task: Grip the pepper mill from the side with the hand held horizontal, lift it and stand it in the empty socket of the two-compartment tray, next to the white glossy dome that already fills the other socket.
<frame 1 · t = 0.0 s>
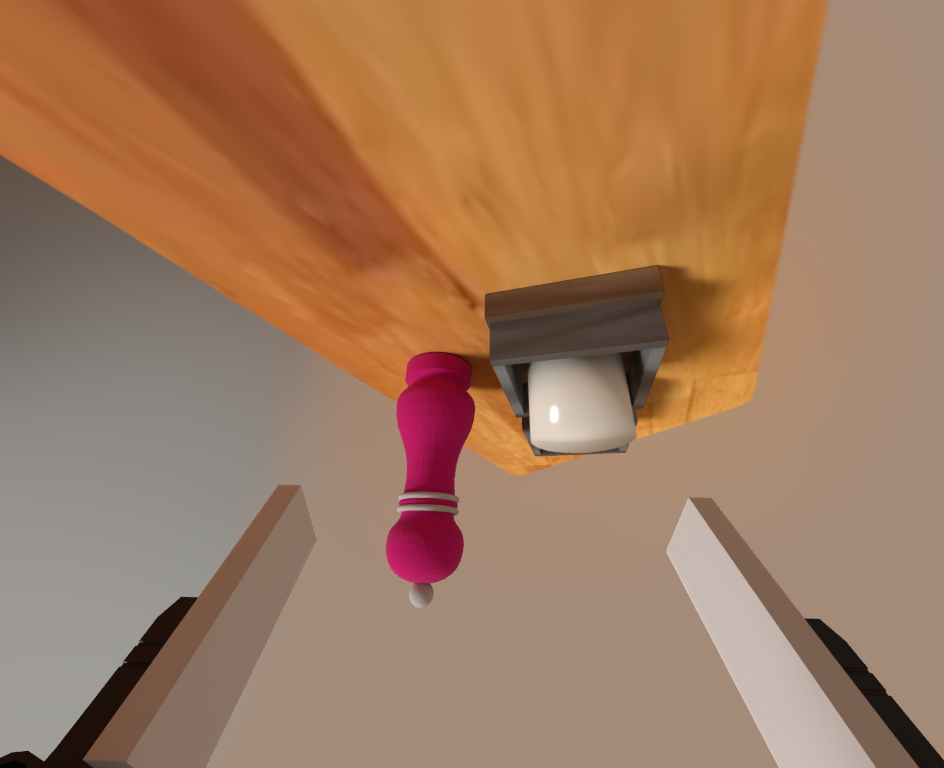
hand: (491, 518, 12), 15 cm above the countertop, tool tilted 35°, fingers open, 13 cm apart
two-compartment tray: (572, 371, 34), on the countertop
white glossy dome: (571, 353, 27), point 2 cm above the countertop, touching two-compartment tray
pepper mill: (439, 366, 35), on the countertop
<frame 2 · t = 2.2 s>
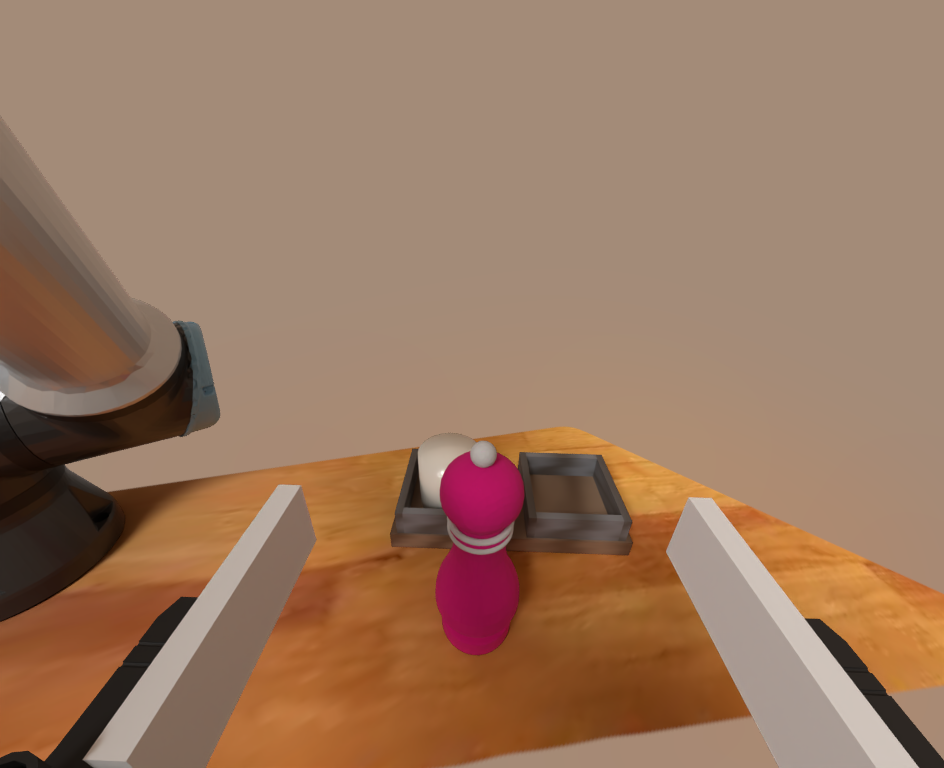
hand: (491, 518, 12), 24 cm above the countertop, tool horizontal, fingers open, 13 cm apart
two-compartment tray: (506, 511, 43), on the countertop
white glossy dome: (450, 497, 42), point 2 cm above the countertop, touching two-compartment tray
pepper mill: (475, 618, 32), on the countertop
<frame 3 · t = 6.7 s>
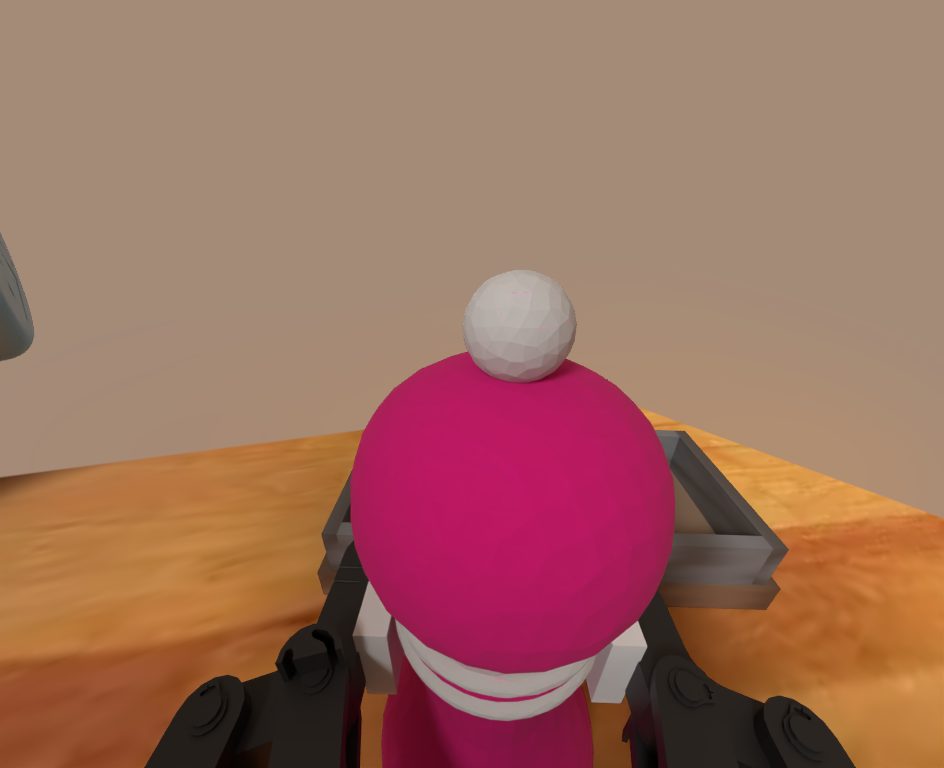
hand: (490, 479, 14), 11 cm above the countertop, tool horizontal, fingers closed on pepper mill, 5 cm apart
two-compartment tray: (531, 525, 25), on the countertop
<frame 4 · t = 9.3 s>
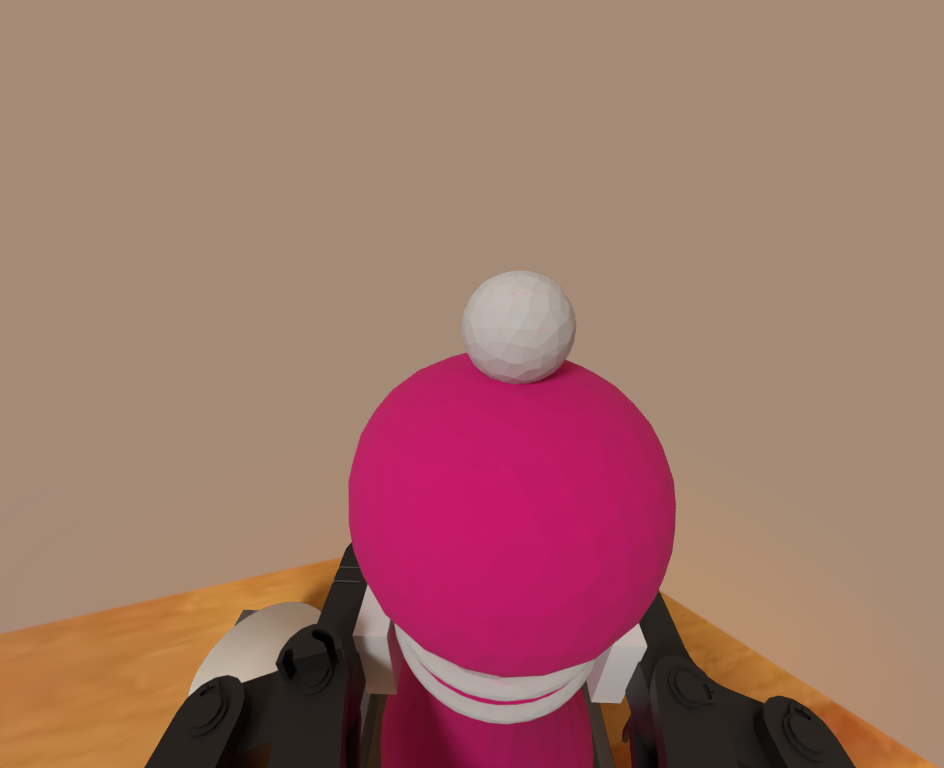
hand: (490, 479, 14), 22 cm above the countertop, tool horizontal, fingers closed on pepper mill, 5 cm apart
two-compartment tray: (402, 738, 23), on the countertop
white glossy dome: (291, 723, 22), point 2 cm above the countertop, touching two-compartment tray
when the fingers open (14 cm above the countertop, at t = 11.8 s): pepper mill drops 1 cm, resting on two-compartment tray.
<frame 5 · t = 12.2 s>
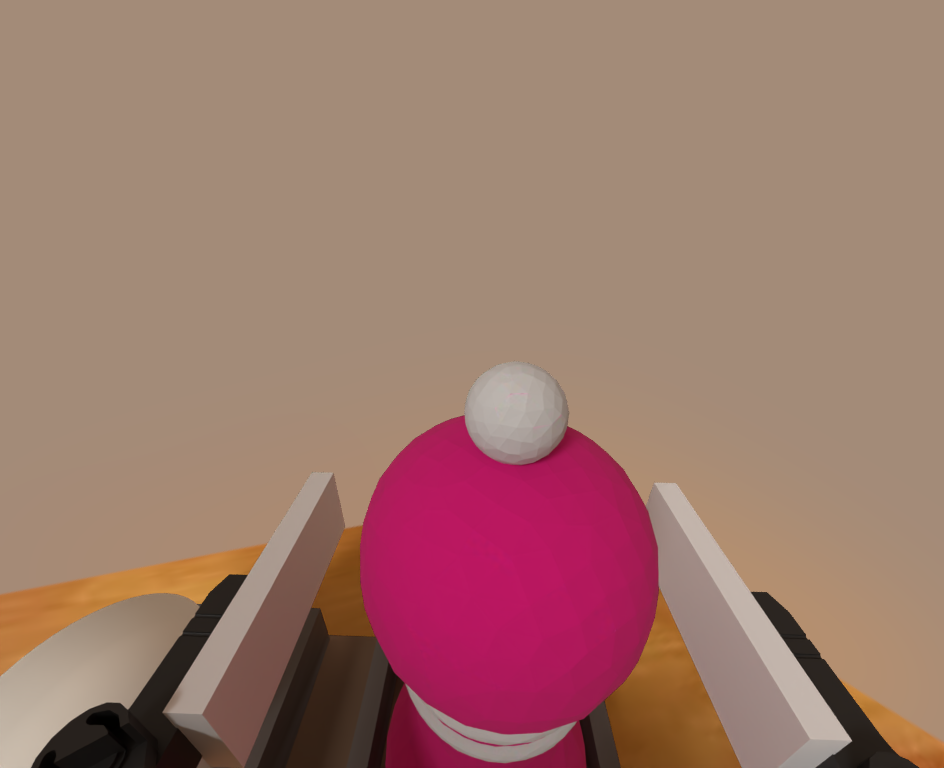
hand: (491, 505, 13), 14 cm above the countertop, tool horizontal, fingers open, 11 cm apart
white glossy dome: (164, 767, 15), point 2 cm above the countertop, touching two-compartment tray
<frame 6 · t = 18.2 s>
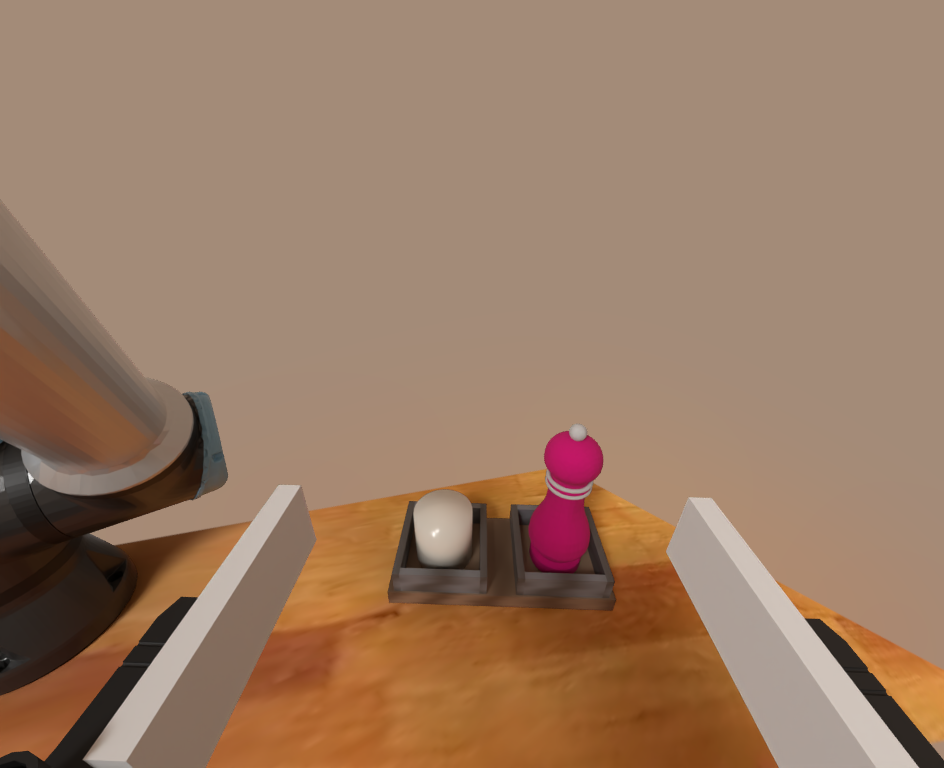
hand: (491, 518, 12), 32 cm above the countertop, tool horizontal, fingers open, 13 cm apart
two-compartment tray: (498, 563, 46), on the countertop
white glossy dome: (444, 550, 45), point 2 cm above the countertop, touching two-compartment tray
pepper mill: (553, 556, 45), point 2 cm above the countertop, touching two-compartment tray
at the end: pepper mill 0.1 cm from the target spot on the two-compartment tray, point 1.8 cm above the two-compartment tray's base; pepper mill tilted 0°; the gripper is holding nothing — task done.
